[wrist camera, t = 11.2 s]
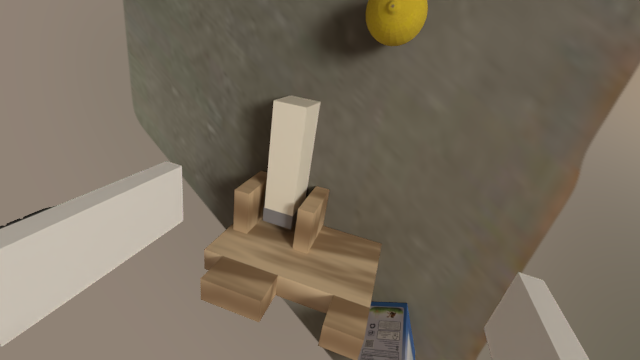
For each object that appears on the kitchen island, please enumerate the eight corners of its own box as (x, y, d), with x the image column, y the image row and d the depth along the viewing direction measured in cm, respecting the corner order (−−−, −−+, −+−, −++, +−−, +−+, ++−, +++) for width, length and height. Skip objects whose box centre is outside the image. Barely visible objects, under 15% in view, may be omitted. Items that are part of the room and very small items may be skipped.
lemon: (423, -21, 29) (425, -47, 22) (428, 39, 31) (432, 33, 23) (367, -3, 31) (353, -21, 24) (375, 53, 32) (364, 51, 25)
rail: (290, 95, 37) (272, 100, 33) (320, 101, 36) (307, 107, 32) (278, 204, 44) (262, 220, 39) (303, 211, 43) (290, 229, 39)
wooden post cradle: (256, 169, 43) (177, 224, 29) (392, 207, 39) (379, 292, 24) (252, 221, 46) (181, 291, 32) (376, 260, 42) (357, 361, 28)
